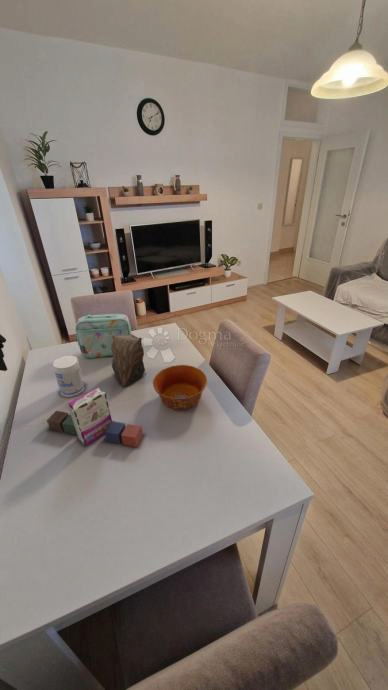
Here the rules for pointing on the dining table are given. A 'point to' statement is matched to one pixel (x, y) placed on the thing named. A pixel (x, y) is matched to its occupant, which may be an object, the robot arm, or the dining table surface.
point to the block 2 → (69, 425)
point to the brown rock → (127, 358)
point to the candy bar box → (90, 415)
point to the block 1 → (57, 421)
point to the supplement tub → (68, 375)
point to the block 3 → (114, 432)
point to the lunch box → (100, 333)
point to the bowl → (180, 385)
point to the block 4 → (132, 435)
